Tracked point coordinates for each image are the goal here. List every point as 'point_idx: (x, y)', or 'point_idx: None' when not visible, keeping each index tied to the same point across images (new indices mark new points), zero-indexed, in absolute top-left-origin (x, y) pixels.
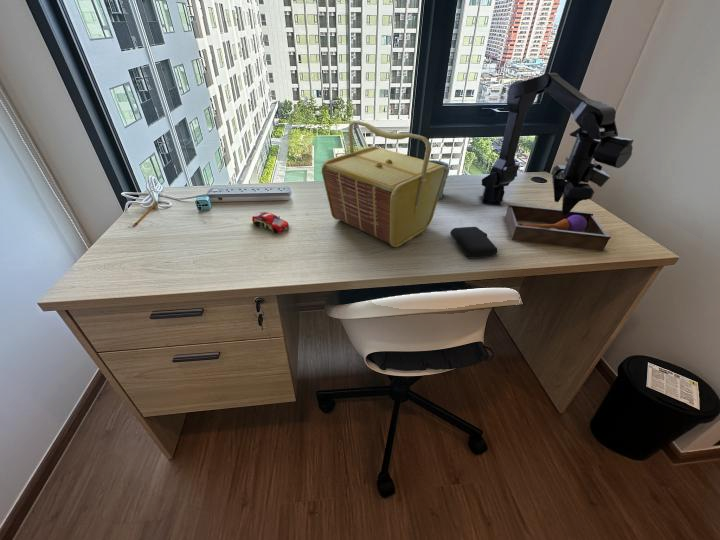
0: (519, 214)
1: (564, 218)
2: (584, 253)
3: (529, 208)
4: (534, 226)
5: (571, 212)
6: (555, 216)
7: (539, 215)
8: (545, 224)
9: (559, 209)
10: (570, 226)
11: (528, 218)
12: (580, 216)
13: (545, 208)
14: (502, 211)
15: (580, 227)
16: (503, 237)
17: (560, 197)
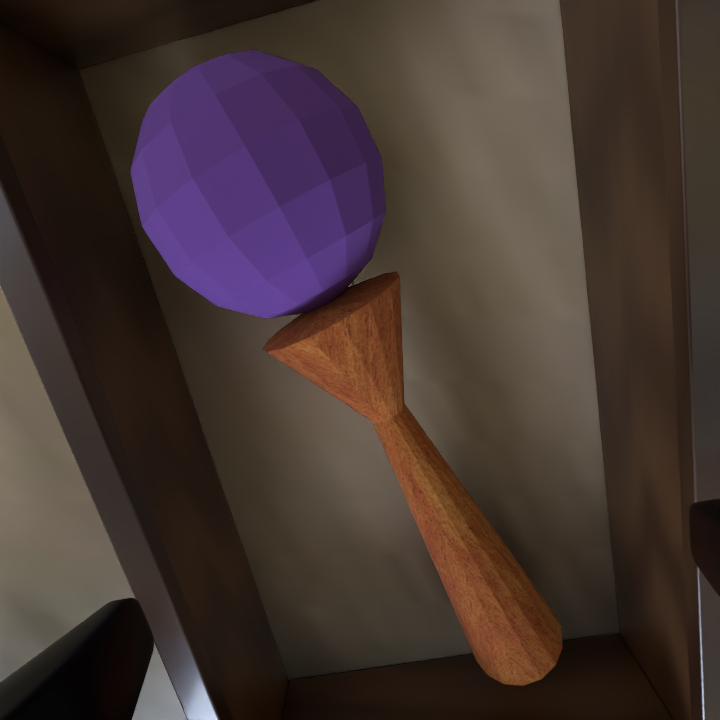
0: (256, 664)
1: (118, 300)
2: None
3: (214, 682)
4: (510, 584)
5: (42, 260)
6: (144, 397)
7: (200, 531)
8: (432, 502)
9: (61, 412)
10: (368, 259)
11: (240, 573)
12: (233, 160)
13: (138, 559)
14: (182, 713)
15: (374, 144)
16: None
17: (66, 680)
